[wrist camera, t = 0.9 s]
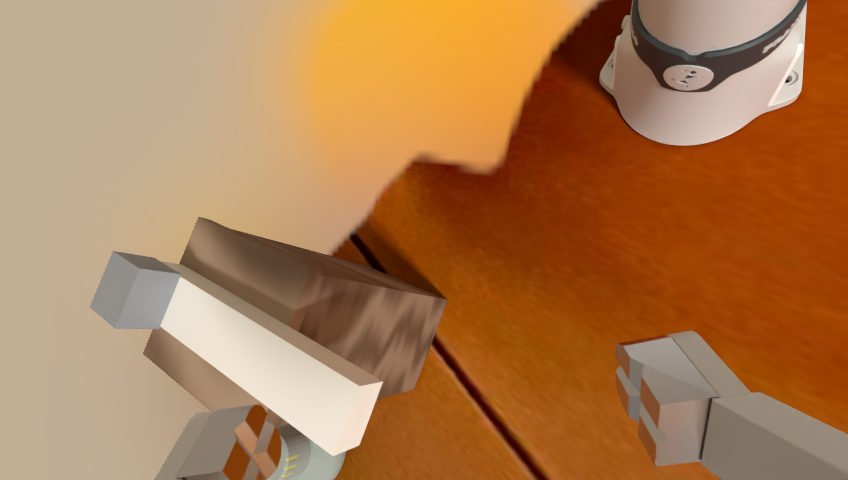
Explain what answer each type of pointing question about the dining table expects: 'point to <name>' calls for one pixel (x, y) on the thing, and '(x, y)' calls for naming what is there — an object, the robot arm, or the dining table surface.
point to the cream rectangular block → (243, 347)
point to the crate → (304, 312)
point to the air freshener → (304, 458)
